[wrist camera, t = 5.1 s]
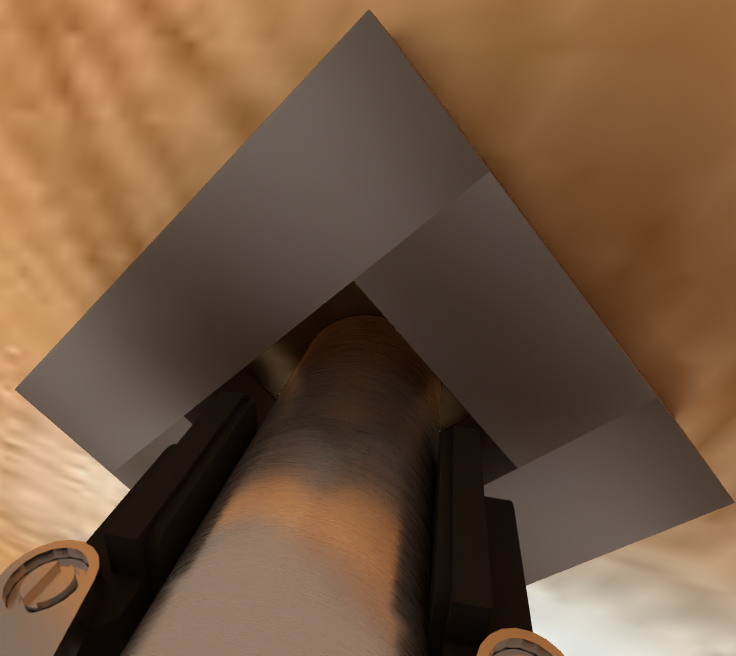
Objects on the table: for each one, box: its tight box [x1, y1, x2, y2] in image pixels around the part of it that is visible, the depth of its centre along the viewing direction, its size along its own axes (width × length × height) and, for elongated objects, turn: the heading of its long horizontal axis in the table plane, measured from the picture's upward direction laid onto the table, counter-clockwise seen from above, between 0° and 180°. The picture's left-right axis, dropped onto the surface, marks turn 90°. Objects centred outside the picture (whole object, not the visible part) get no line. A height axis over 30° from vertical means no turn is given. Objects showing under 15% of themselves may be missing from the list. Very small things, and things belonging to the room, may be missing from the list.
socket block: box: [15, 10, 735, 585], centre depth 13 cm, size 12×12×3 cm
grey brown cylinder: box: [120, 315, 441, 656], centre depth 8 cm, size 4×4×12 cm
